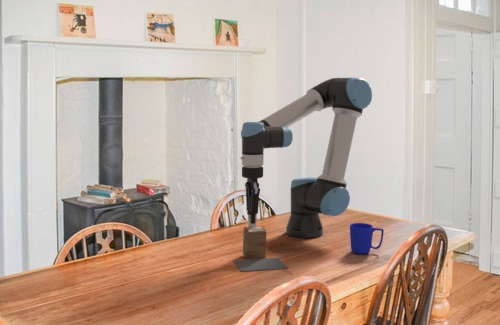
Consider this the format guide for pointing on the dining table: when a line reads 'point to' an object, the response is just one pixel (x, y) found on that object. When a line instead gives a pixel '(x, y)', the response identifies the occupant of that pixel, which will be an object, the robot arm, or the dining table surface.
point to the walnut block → (254, 242)
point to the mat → (260, 264)
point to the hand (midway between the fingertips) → (251, 231)
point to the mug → (363, 237)
